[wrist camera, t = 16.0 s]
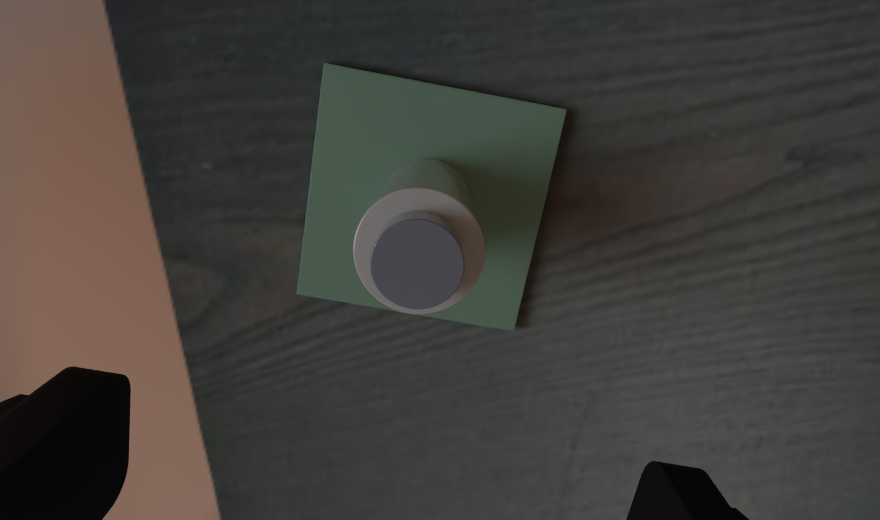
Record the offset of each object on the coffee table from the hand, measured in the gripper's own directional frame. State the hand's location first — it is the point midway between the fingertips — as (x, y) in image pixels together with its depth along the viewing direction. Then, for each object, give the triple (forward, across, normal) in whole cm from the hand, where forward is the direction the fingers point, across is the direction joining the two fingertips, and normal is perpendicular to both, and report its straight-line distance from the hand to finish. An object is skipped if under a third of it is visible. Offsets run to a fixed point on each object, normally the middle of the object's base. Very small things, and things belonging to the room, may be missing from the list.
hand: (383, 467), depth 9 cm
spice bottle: (+21, 0, 0) cm, 21 cm away
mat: (+22, 0, 0) cm, 22 cm away
